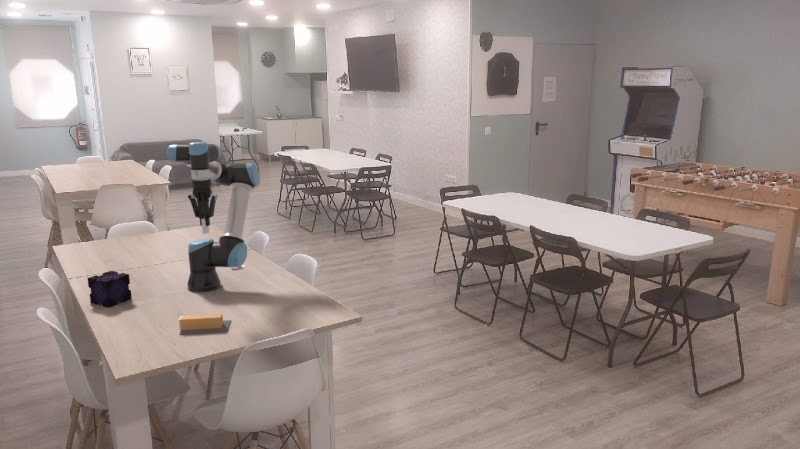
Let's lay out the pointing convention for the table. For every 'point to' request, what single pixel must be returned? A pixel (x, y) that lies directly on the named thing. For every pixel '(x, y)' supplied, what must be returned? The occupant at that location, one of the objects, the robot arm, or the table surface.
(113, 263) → the table surface
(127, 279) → the energy cube
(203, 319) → the tall block
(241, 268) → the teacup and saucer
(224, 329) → the mat
